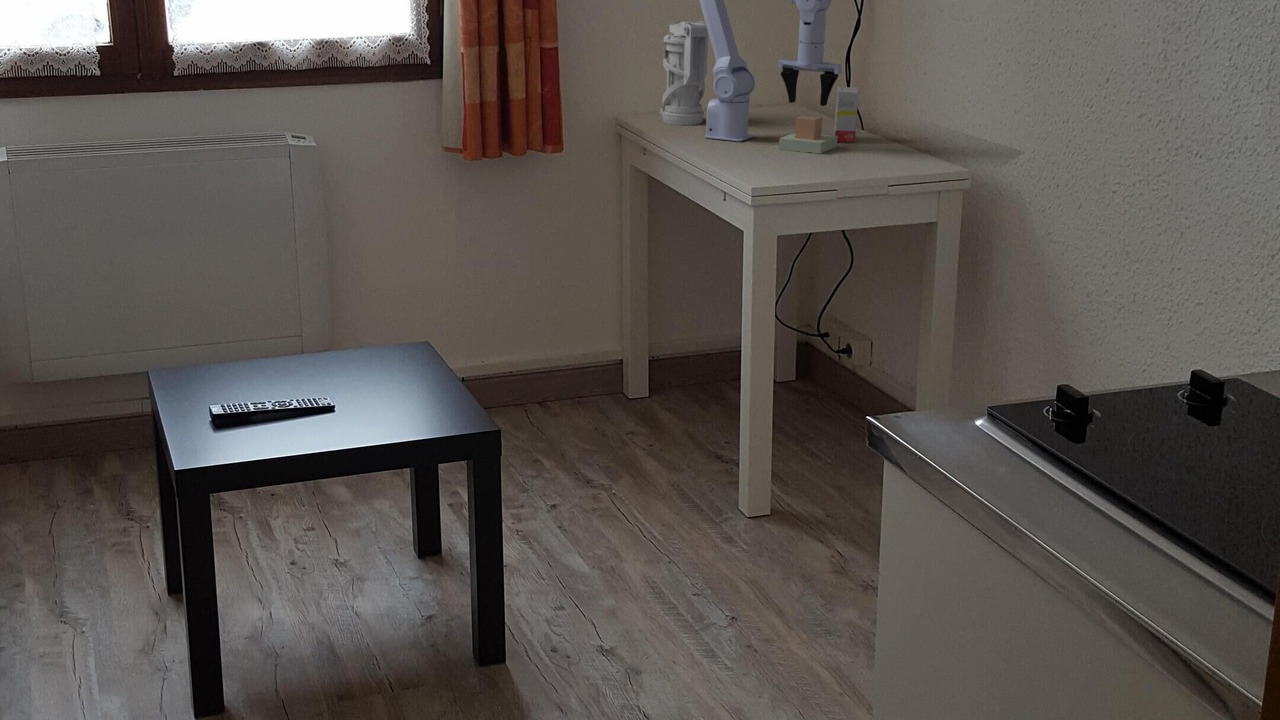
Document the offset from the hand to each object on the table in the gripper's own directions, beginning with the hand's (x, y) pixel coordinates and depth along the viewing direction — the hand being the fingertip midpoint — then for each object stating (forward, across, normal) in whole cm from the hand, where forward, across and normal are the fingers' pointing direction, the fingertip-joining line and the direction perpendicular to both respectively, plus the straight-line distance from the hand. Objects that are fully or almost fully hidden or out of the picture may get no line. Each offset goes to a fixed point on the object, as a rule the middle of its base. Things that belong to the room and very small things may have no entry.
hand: (807, 103), depth 306 cm
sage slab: (+10, +1, -1) cm, 10 cm away
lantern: (+10, -38, +14) cm, 42 cm away
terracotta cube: (+7, +1, -1) cm, 7 cm away
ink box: (+10, +4, +14) cm, 18 cm away
